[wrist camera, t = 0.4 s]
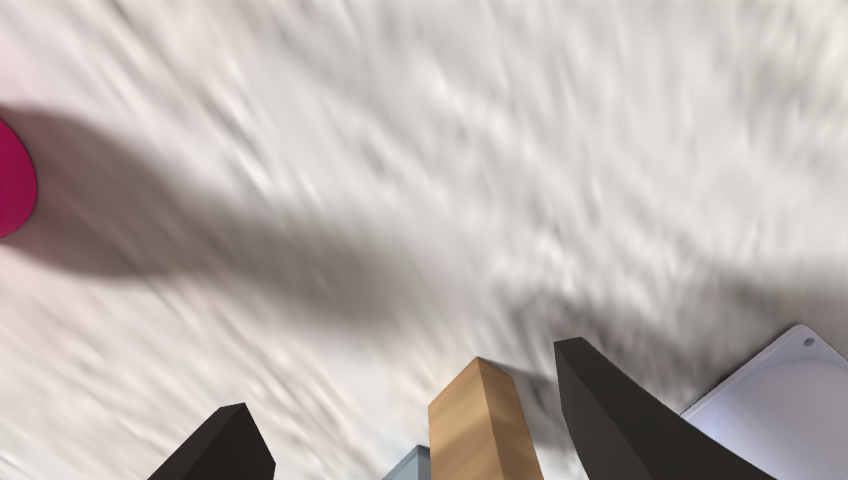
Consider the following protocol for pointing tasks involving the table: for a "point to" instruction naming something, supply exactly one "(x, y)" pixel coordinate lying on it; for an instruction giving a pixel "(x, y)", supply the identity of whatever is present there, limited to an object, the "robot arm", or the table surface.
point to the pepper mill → (15, 182)
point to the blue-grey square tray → (413, 466)
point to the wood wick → (480, 429)
